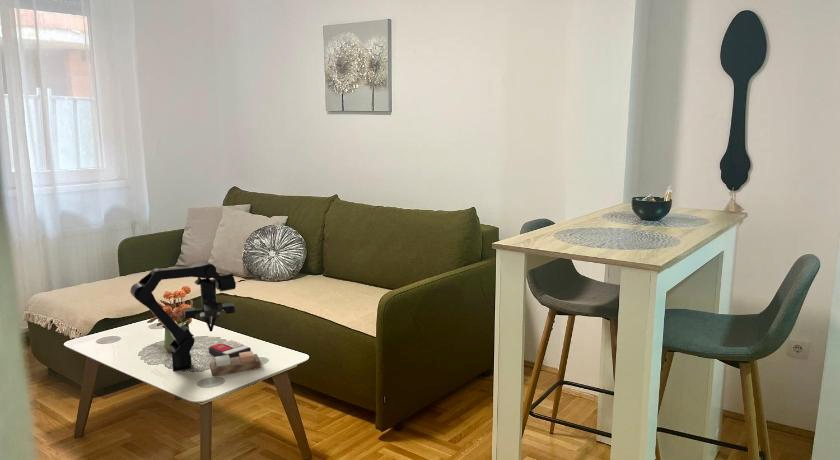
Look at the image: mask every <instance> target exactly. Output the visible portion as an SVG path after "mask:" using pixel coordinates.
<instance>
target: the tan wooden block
mask: <svg viewBox="0 0 840 460" xmlns="http://www.w3.org/2000/svg"><path fill="white" fill-rule="evenodd" d="M254 354H255V353H254V352H253V350H251V351H249V352H243V353H239V360H240V363H244V362H250V361H254Z"/></svg>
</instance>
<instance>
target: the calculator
mask: <svg viewBox="0 0 840 460" xmlns="http://www.w3.org/2000/svg"><path fill="white" fill-rule="evenodd" d="M251 349H252V348H251V347H249V346H248V345H244V344H243V343H241V342H238V341H235V340H233V339H230V340H227V341H224V342H220V343H217V344H213V345H210V346H209V347H208V354H209V353H210V354H211V356H212V355H213V356H212V357H214V358H215V357H218V356H224V355H229V358H234V357H239V353H243V352H249V351H252V350H251ZM210 354H209V355H210Z"/></svg>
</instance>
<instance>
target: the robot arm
mask: <svg viewBox="0 0 840 460" xmlns="http://www.w3.org/2000/svg"><path fill="white" fill-rule="evenodd" d="M181 278H196V280H195V281H194V284H196V285H197V286H199V287H200V302H201V308H198V309H197V308H195V306H194V307H193V306H192V307H185V308H184V310H183V311H184V312H183V313H184V318H185V319H186V320H188V319H194V318H196V315H199V316H200V319H202V320H204V321H205V323H206V325H207V328H208V329H209V332H213V330H214V326H215V323H216V320H217V319H218V318H219V317H221V314H220V313H222V312H224V313H225V314H227V315H229V314H235V312H236V311H235V310H236V308H235V305H234V303H233V302H228V303H226V302H225V303H223V302H217V301H218V300H217V290H218V291H219V292H220V293H221V292H226V291H233V290H236V288H237V282H236V280H235V277H234V273H232V272H228V273H223V274H219V273H218V272H217V268H216V266H215V265H214V264H212V263H211V262H210V261H209V262H208V261H206V260H204V261H200V262H196V263H193V264H191V265H187V266H186V265H185V266H175V267H174V266H173V267H165V268H157V267H156V268H153V269H152V270H151V271H150V272H149V273H148V274H146V275H145V276H143V277H142V278H141V279H140V280H139V281H138V282H136V283H134V284H133V285H132V286H131V287H130V291H129V292H130V294H131V296H132V297H133V298H135V300H137V301H138V302H139V303H140V304H142V305H143V306H145V307H146V308H147V309H149V310H150V312H151V313H153V315H154V316H155V317H156V318H157V319H158V320H159V322H160V323H162V325H163V326H164V327H165V328H166V329H167V330H168V332H169V333H170V335H171V337H172V339H173V341H172V342H171V343H170V344H169V349H170V350H171V361H172V362H171V363H172V364H171V366H172V371H173V372H175V371H182V370H189V369H191V368H192V363H193V361H192V354H191V350H192V348H193V346H194V345H195V338H194V337H195V335H194V334H193V333H192V332H191V331H190V330H189V329H188V328H187V327H186V326H185V325H184V324H182V325H181V326H179V324H178V323H176V321H175V320H174V319H173V318H172V317H171V316H170V315H169V314H168V313H167V312H166V311H165V310H164V308H163V307H162V306H161V305H160V304H159V303H158V301H157V299H156V297H155V296H154V294H153V292H154V290H156V288H157V286H158V285H159V284H160V282H161V281H162V280H163V281H164V280H172V279H181Z"/></svg>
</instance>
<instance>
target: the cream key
mask: <svg viewBox="0 0 840 460" xmlns="http://www.w3.org/2000/svg"><path fill="white" fill-rule="evenodd" d="M214 361H215V364H216V367H219V366H225V365H231V364H230V358H229V355H224V356H218V357H214Z"/></svg>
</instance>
